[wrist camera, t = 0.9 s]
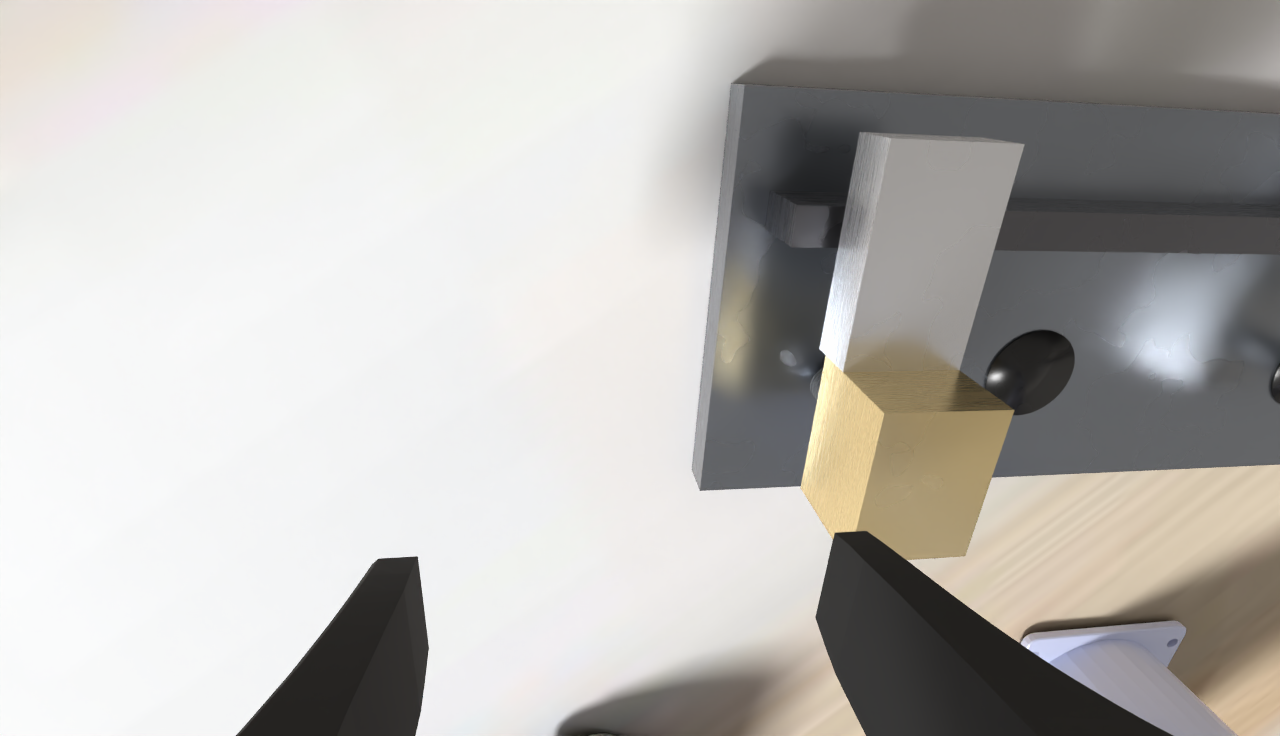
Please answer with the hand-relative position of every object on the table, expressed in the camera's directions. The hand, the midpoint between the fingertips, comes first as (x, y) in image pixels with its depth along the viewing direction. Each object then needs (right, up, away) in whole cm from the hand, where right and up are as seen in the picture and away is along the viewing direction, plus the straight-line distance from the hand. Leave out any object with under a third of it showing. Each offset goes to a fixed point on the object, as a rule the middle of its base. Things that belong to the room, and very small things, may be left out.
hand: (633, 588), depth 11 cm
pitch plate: (+15, +6, +10) cm, 19 cm away
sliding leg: (+6, +6, +7) cm, 11 cm away
